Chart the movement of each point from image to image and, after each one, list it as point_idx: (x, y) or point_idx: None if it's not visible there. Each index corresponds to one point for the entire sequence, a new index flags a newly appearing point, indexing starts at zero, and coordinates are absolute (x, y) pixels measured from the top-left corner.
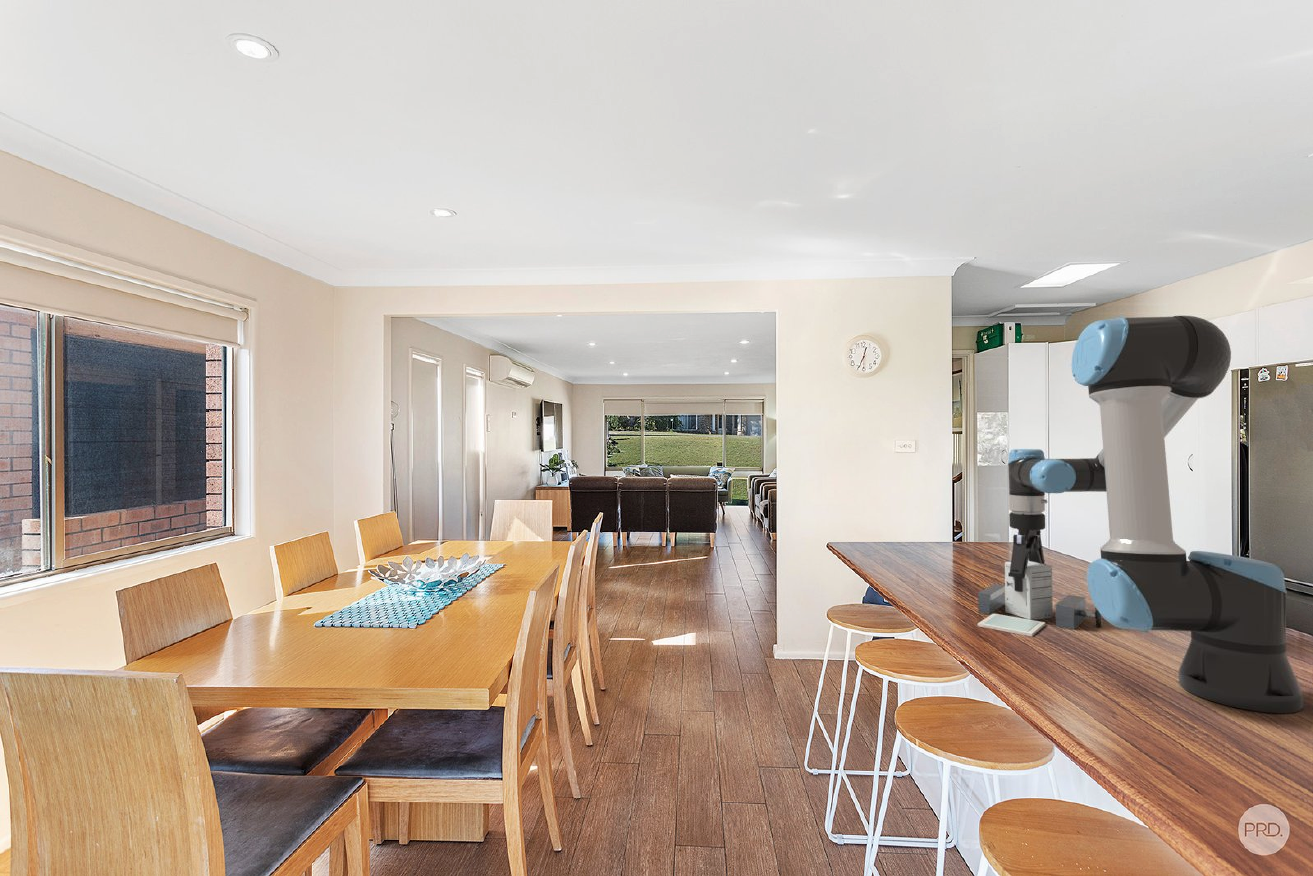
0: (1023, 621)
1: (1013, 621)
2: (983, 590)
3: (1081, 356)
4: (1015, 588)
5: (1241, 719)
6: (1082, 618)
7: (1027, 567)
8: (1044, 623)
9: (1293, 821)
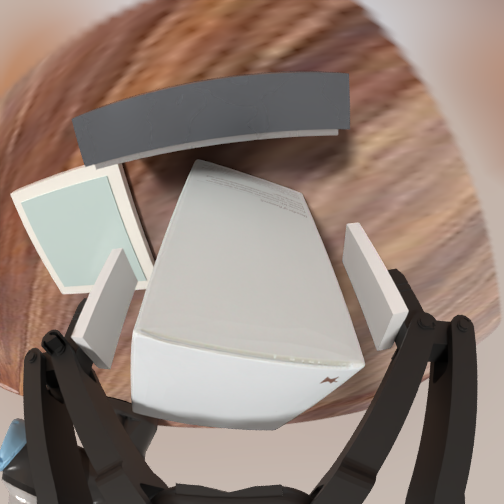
0: None
1: (92, 240)
2: (132, 103)
3: None
4: (78, 310)
5: None
6: None
7: (134, 408)
8: None
9: (17, 393)
